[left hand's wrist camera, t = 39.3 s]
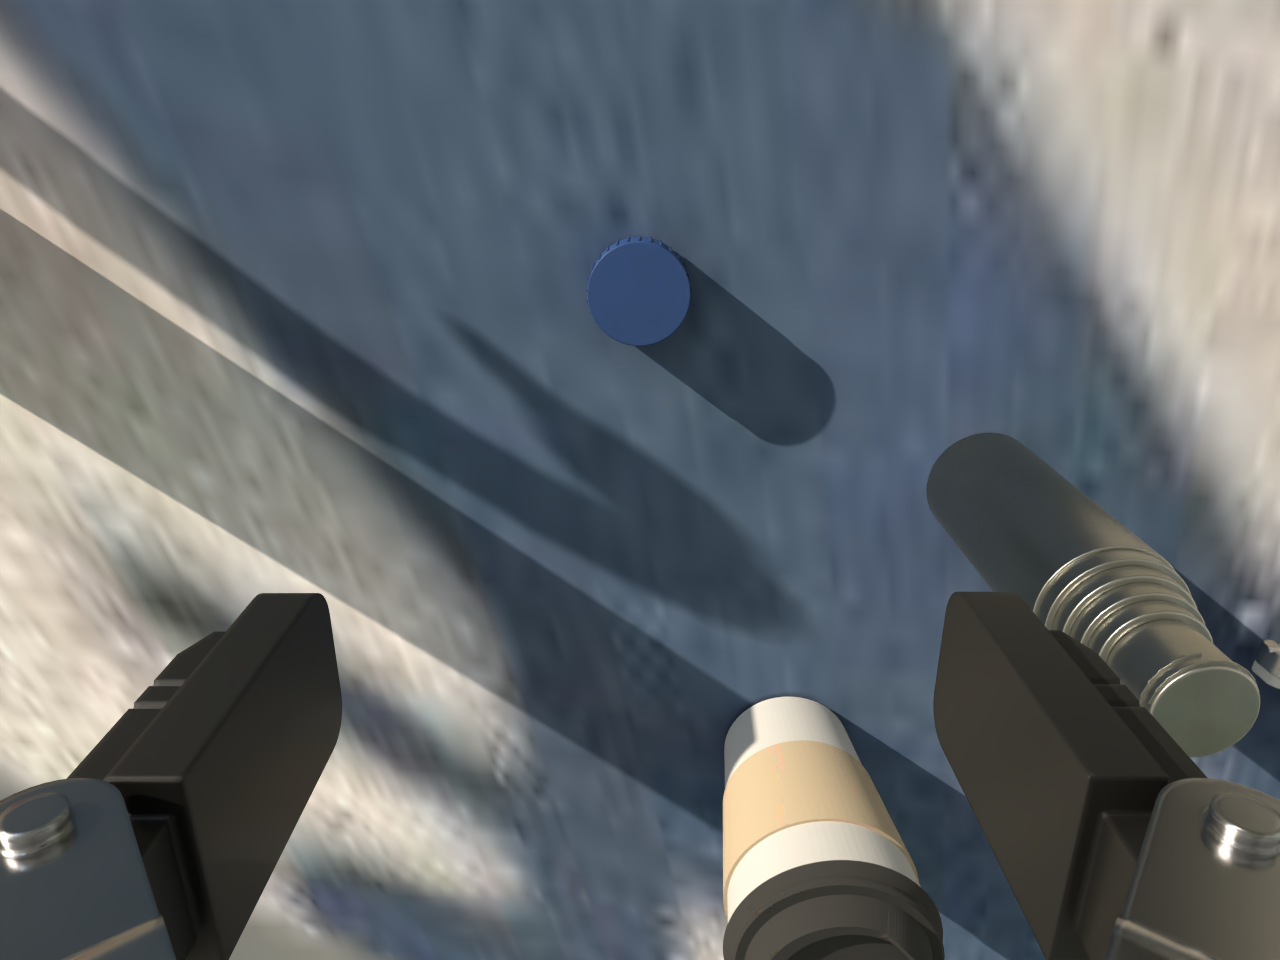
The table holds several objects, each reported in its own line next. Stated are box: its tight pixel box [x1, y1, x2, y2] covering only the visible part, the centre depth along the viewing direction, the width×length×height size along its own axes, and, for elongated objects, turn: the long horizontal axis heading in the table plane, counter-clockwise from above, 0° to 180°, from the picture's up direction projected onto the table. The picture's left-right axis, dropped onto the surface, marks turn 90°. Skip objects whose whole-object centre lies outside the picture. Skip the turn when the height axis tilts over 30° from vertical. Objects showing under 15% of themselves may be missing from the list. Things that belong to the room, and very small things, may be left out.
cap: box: [586, 236, 691, 346], centre depth 38 cm, size 4×4×2 cm
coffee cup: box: [723, 697, 944, 960], centre depth 41 cm, size 9×9×15 cm
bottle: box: [927, 433, 1261, 757], centre depth 34 cm, size 5×5×18 cm
